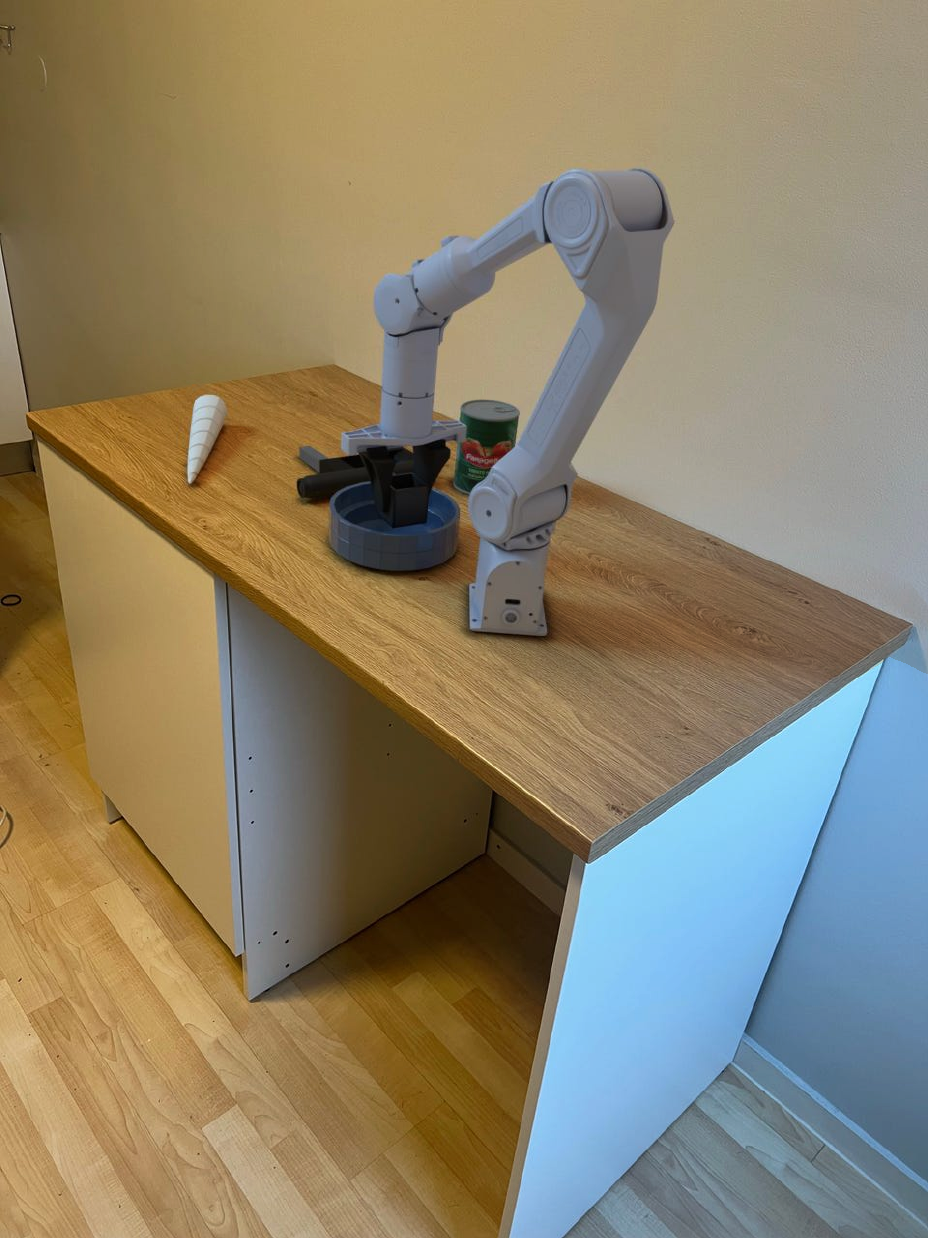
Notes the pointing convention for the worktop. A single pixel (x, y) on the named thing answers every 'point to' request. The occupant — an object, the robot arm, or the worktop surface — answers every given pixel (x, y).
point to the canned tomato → (483, 440)
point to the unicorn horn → (204, 431)
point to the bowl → (391, 531)
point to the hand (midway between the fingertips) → (401, 505)
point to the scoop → (406, 501)
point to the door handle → (342, 471)
